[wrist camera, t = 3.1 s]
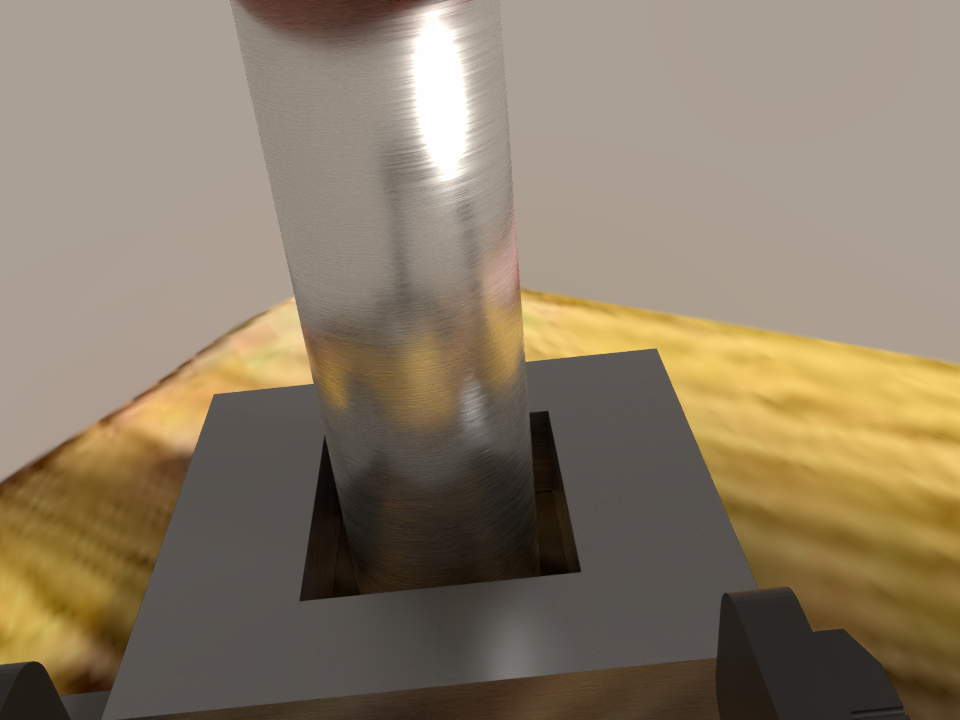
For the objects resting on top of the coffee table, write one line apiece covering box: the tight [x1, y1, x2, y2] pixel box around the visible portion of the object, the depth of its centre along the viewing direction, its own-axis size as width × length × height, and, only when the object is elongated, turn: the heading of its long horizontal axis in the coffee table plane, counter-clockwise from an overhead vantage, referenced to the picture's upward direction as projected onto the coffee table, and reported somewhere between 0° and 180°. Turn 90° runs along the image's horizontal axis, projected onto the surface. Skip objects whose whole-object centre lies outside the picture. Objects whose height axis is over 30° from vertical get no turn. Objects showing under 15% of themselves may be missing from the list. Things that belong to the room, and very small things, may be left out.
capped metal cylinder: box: [230, 0, 541, 595], centre depth 21 cm, size 6×6×17 cm
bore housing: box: [101, 349, 758, 720], centre depth 25 cm, size 14×12×3 cm
